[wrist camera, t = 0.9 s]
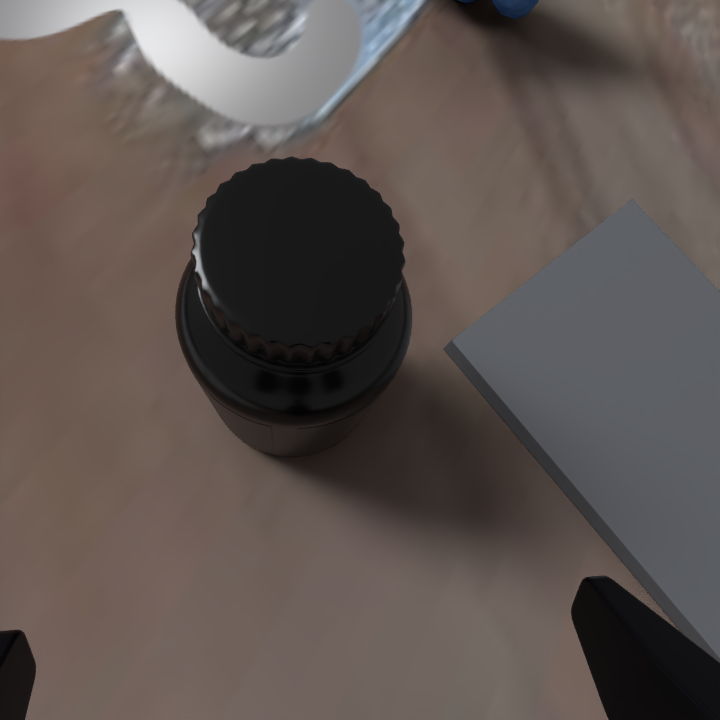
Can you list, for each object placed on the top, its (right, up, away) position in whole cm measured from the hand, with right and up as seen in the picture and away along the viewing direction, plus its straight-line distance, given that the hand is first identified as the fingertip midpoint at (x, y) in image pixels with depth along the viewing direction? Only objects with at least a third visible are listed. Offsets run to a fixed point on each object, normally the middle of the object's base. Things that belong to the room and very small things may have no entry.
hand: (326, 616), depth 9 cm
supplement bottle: (-2, +3, +15) cm, 15 cm away
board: (+15, +1, +17) cm, 22 cm away
